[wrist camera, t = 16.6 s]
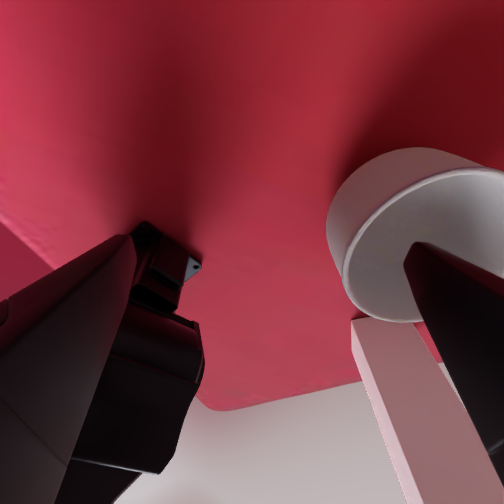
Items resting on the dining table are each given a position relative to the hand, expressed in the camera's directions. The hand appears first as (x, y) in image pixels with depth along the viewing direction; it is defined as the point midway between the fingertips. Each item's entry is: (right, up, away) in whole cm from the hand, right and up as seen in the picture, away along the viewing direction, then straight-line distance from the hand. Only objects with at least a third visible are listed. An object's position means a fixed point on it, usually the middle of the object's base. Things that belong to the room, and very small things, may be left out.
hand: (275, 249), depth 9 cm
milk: (+14, -9, +24) cm, 29 cm away
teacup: (+11, +4, +14) cm, 19 cm away
